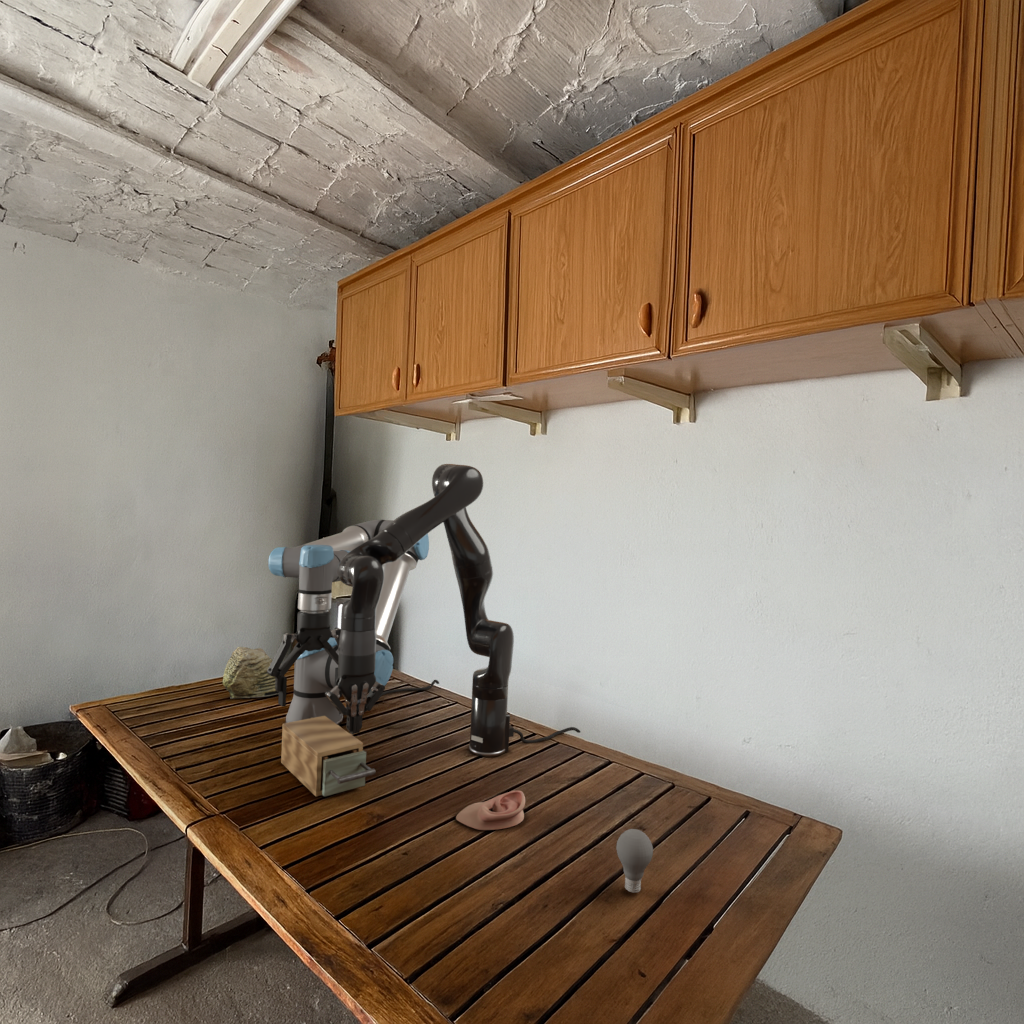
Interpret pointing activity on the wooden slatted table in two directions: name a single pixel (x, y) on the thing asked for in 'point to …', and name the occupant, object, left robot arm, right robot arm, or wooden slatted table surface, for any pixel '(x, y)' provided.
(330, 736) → the cabinet
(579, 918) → the wooden slatted table surface
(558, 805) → the wooden slatted table surface
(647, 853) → the light bulb
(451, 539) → the right robot arm
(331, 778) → the drawer
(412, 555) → the left robot arm
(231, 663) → the fossil
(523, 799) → the anatomical model
